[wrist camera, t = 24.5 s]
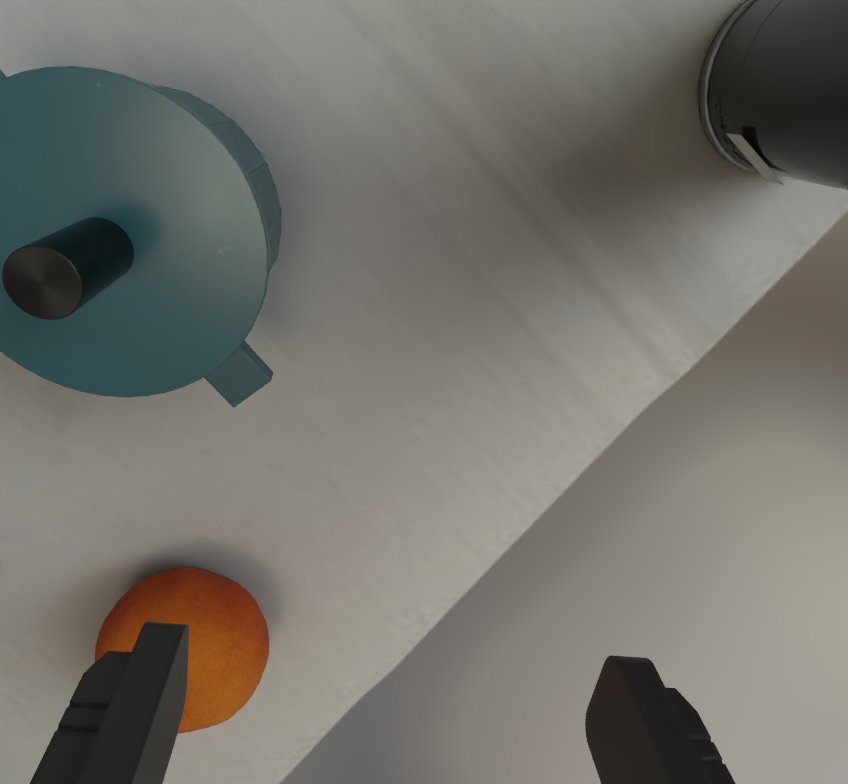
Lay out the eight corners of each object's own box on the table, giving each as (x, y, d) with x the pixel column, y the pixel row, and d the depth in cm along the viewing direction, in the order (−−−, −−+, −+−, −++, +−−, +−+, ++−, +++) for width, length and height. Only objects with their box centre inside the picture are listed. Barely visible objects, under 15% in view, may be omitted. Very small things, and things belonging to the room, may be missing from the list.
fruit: (302, 581, 46) (290, 672, 39) (237, 677, 50) (214, 778, 42) (157, 520, 43) (115, 606, 36) (98, 627, 47) (48, 725, 39)
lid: (106, -13, 25) (21, -47, 19) (334, 276, 30) (326, 322, 24) (-136, 207, 27) (-279, 240, 21) (114, 438, 32) (57, 518, 26)
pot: (122, -26, 31) (41, -64, 23) (358, 277, 38) (355, 324, 30) (-60, 141, 33) (-189, 156, 26) (193, 398, 40) (151, 471, 32)
